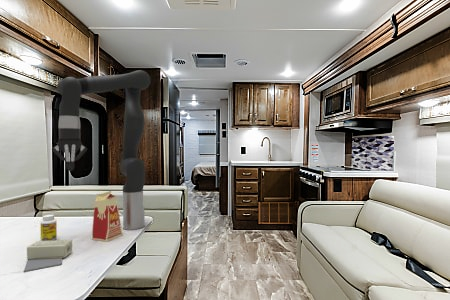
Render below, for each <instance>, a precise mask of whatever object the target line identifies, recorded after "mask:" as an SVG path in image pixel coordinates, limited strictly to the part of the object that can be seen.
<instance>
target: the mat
mask: <svg viewBox="0 0 450 300" xmlns="http://www.w3.org/2000/svg"><path fill="white" fill-rule="evenodd" d="M62 263H63V258H47V259H26V264H25V266H24V269H23V273H27V272H32V271H37V270H42V269H47V268H53V267H58V266H62Z"/></svg>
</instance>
